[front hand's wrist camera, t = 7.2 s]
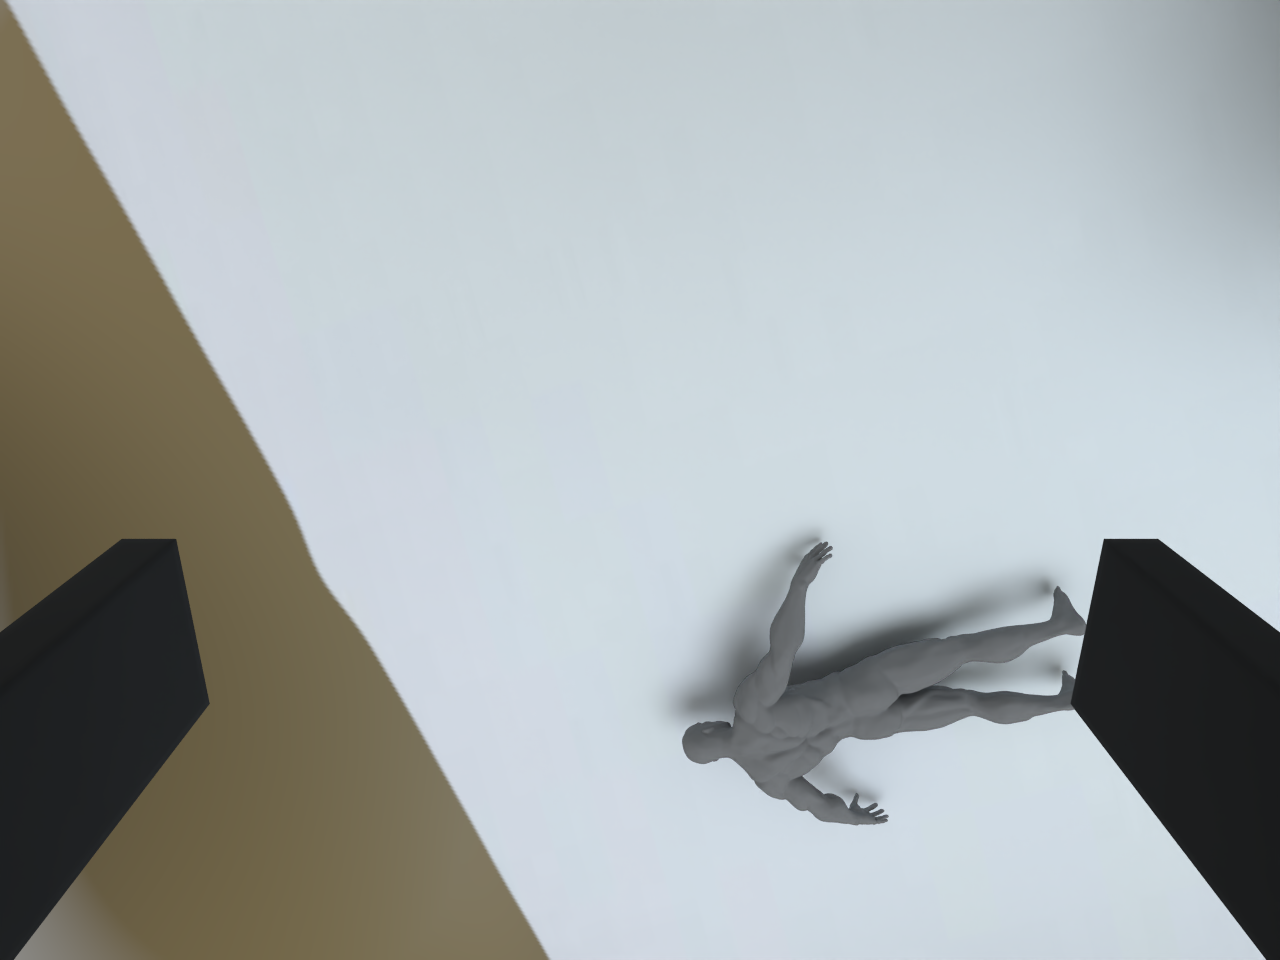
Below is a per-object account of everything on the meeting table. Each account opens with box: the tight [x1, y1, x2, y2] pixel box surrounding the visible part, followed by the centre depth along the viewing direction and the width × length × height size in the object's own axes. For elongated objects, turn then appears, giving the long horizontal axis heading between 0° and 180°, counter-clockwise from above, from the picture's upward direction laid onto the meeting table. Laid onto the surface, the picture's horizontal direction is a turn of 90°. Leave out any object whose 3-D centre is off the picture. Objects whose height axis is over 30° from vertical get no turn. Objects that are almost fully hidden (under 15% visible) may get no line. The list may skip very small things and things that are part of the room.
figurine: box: [682, 542, 1086, 825], centre depth 44 cm, size 17×4×20 cm
